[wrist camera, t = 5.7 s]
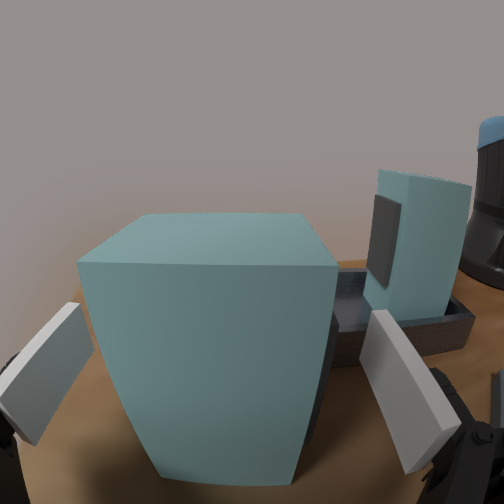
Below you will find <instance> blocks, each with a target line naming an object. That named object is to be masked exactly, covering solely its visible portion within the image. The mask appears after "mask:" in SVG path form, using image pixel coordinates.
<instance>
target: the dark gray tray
mask: <svg viewBox="0 0 504 504" xmlns="http://www.w3.org/2000/svg"><path fill="white" fill-rule="evenodd" d="M367 270H368V268H339V269H338V277H337V284H336V291H335V298H334V305H333V311H334V314H335V316H336V318H337V320H338V323H339V325H340V326H339V331H338V336H337V341H336V345H335V350H334V355H333V359H332V364H331V368H332V367H345V366H356V365H362V364H361V362H360V360H359V358H360V354H361V351H362V347H363V343H364V340H365V336H366V332H367V328H368V324H369V320H370V316H371V311H372V310H373V309H372V307H371V306H370V304H369V303H368V301H367V300H366V298H365V297H364V295H363V293H364V287H365V282H366V276H367ZM475 318H476V317H475V316H474V315H473V314H472V313H471V312H470V311H469V310H468V309H467V308H466V307H465V306H464V305H463V304H461V303H460V302H459V301H458V300H457V299H456V298H455V297H454V296H453V295H452V294H451V295H450V298H449V301H448V305H447V308H446V311H445V314H444V316H439V317H430V318H422V319H412V320H402V321H396V323H397V324H398V325H399V327H400V328H401V330H402V331H403V332H404V334H405V335H406V337H407V338H408V340H409V341H410V342H411V344H412V345H413V347H414V348H415V350H416V351H417V353H418V354H419V356H420V357H421V356H427V355H432V354H437V353H442V352H447V351H452V350H456V349H460V348H463V347H464V345H465V343H466V340H467V338H468V336H469V333H470V331H471V328H472V326H473V323H474V321H475Z"/></svg>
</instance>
